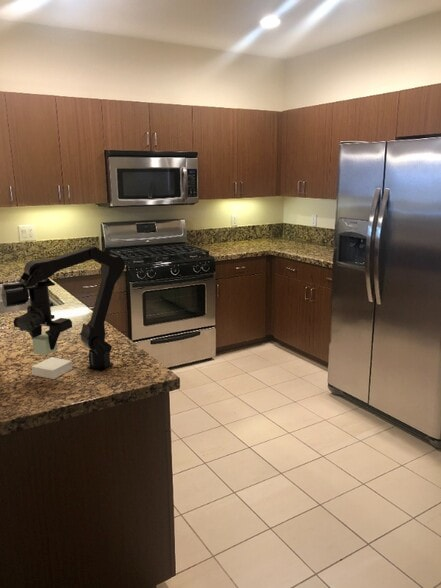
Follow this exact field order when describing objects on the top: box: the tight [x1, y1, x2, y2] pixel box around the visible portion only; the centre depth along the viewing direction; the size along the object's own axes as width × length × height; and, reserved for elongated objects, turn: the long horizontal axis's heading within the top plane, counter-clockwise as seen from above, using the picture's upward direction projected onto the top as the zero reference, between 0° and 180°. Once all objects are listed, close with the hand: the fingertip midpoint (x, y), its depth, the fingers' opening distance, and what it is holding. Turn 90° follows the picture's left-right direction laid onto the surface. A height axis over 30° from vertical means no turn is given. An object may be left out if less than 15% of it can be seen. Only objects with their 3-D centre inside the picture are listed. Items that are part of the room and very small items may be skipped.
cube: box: [31, 333, 58, 356], centre depth 150 cm, size 5×5×5 cm
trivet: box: [31, 356, 73, 380], centre depth 159 cm, size 9×9×3 cm
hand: (45, 348), depth 150 cm, fingers closed on cube, 5 cm apart
